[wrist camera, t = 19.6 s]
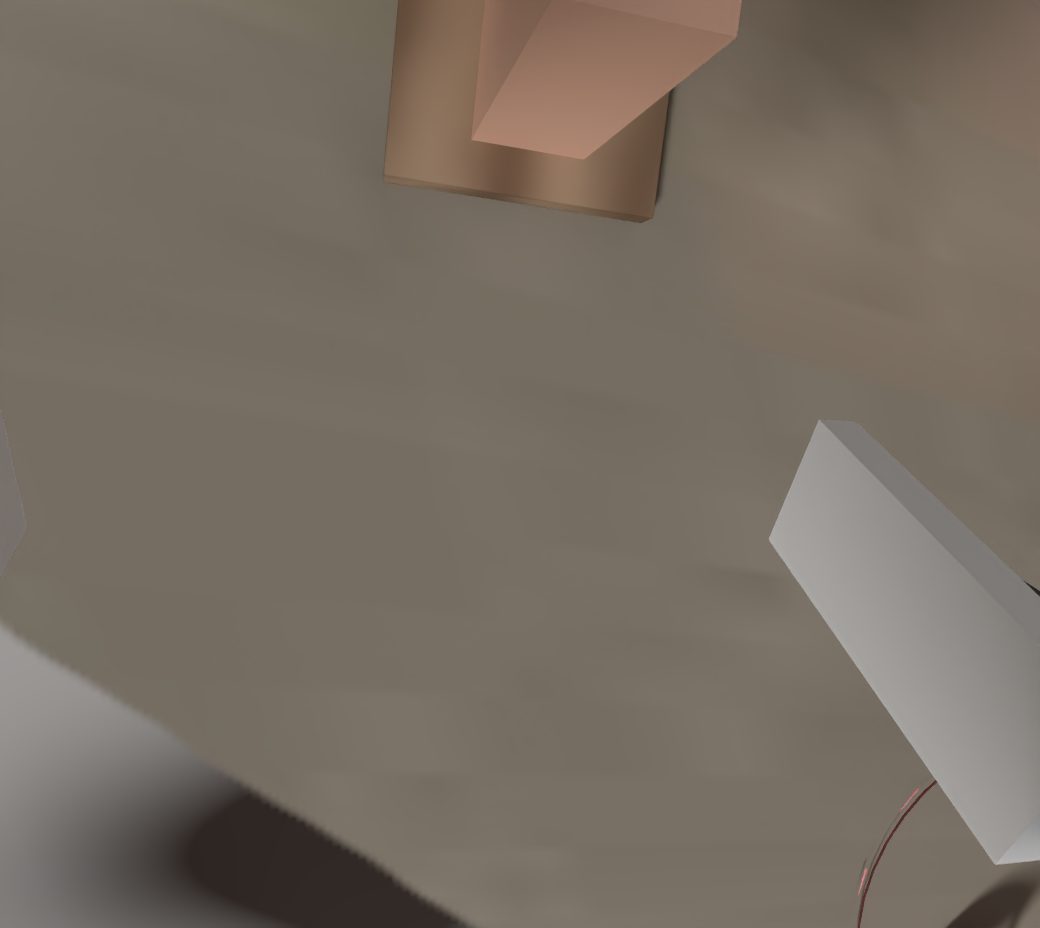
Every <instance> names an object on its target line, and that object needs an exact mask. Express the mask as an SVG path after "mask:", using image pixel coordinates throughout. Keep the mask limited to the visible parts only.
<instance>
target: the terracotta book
mask: <svg viewBox="0 0 1040 928" xmlns="http://www.w3.org/2000/svg"><path fill="white" fill-rule="evenodd" d="M741 4H742V0H485V7H484V17H483V27H482V37H481V47H480V57H479V67H478V77H477V87H476V98H475V108H474V118H473V128H472V138H471V140H475V141H481V142H487V143H492V144H498V145H504V146H509V147H515V148H521V149H526V150H532V151H538V152H543V153H549V154H555V155H561V156H566V157H572V158H578V159H583V160H584V159H585V158H587V157H588V156H589V155H590V154H592V153H593V152H594V151H595V150H597V149H598V148H599V147H600V146H602V145H603V144H604V143H605V142H607V141H608V140H609V139H610V138H612V137H613V136H614V135H615V134H617V133H618V132H619V131H620V130H622V129H623V128H624V127H625V126H627V125H628V124H629V123H630V122H632V121H633V120H634V119H635V118H637V117H638V116H639V115H640V114H642V113H643V112H644V111H645V110H646V109H648V108H649V107H650V106H651V105H653V104H654V103H655V102H656V101H658V100H659V99H660V98H661V97H663V96H664V95H665V94H666V93H668V92H669V91H670V90H671V89H673V88H674V87H675V86H676V85H678V84H679V83H680V82H681V81H683V80H684V79H685V78H686V77H688V76H689V75H690V74H691V73H693V72H694V71H695V70H696V69H698V68H699V67H700V66H701V65H703V64H704V63H705V62H706V61H708V60H709V59H710V58H711V57H713V56H714V55H715V54H716V53H718V52H719V51H720V50H721V49H723V48H724V47H725V46H726V45H728V44H729V43H730V42H731V41H733V40H734V39H735V38H736V37H737V33H738V26H739V19H740V12H741Z"/></svg>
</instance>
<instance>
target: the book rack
mask: <svg viewBox="0 0 1040 928" xmlns="http://www.w3.org/2000/svg"><path fill="white" fill-rule="evenodd" d="M484 7H485V0H398V10H397V21H396V33H395V45H394V56H393V68H392V80H391V91H390V103H389V115H388V126H387V138H386V150H385V161H384V173H383V182H388V183H395V184H401V185H407V186H413V187H420V188H426V189H432V190H439V191H445V192H451V193H457V194H464V195H470V196H476V197H482V198H489V199H495V200H501V201H507V202H514V203H520V204H526V205H532V206H539V207H545V208H551V209H557V210H564V211H570V212H576V213H583V214H589V215H595V216H601V217H608V218H614V219H620V220H626V221H633V222H639V223H642V222H644V221H647V220H649V219H652V218H653V215H654V207H655V200H656V192H657V184H658V177H659V169H660V161H661V154H662V146H663V138H664V130H665V123H666V115H667V107H668V100H669V92H670V91H669V92H668V93H666V94H665V95H664V96H663V97H661V98H660V99H659V100H658V101H656V102H655V103H654V104H653V105H651V106H650V107H649V108H648V109H646V110H645V111H644V112H643V113H642V114H640V115H639V116H638V117H637V118H635V119H634V120H633V121H632V122H630V123H629V124H628V125H627V126H625V127H624V128H623V129H622V130H620V131H619V132H618V133H617V134H615V135H614V136H613V137H612V138H610V139H609V140H608V141H607V142H605V143H604V144H603V145H602V146H600V147H599V148H598V149H597V150H595V151H594V152H593V153H592V154H590V155H589V156H588V157H587V158H585V159H584V160H583V159H578V158H572V157H566V156H561V155H555V154H549V153H543V152H538V151H532V150H526V149H521V148H515V147H509V146H504V145H498V144H492V143H487V142H481V141H475V140H471V138H472V128H473V118H474V108H475V98H476V87H477V77H478V67H479V57H480V47H481V37H482V27H483V17H484Z"/></svg>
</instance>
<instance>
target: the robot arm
mask: <svg viewBox="0 0 1040 928" xmlns="http://www.w3.org/2000/svg"><path fill="white" fill-rule="evenodd" d="M27 529H28V528H27V524H26V520H25V515H24V511H23V506H22V502H21V497H20V493H19V488H18V484H17V479H16V475H15V470H14V466H13V461H12V457H11V453H10V448H9V444H8V439H7V435H6V430H5V426H4V421H3V417H2V412H1V408H0V578H1V576H2V574H3V572H4V570H5V569H6V567H7V565H8V563H9V561H10V560H11V558H12V556H13V554H14V552H15V550H16V549H17V547H18V545H19V543H20V541H21V540H22V538H23V536H24V534H25V532H26V530H27ZM769 541H770V542H771V544H772V545H773V547H774V548H775V549H776V551H777V552H778V554H779V555H780V557H781V558H782V559H783V561H784V562H785V564H786V565H787V567H788V568H789V569H790V571H791V572H792V574H793V575H794V577H795V578H796V580H797V581H798V582H799V584H800V585H801V587H802V588H803V590H804V591H805V592H806V594H807V595H808V597H809V598H810V600H811V601H812V603H813V604H814V605H815V607H816V608H817V610H818V611H819V613H820V614H821V615H822V617H823V618H824V620H825V621H826V623H827V624H828V626H829V627H830V628H831V630H832V631H833V633H834V634H835V636H836V637H837V638H838V640H839V641H840V643H841V644H842V646H843V647H844V649H845V650H846V651H847V653H848V654H849V656H850V657H851V659H852V660H853V661H854V663H855V664H856V666H857V667H858V669H859V670H860V671H861V673H862V674H863V676H864V677H865V679H866V680H867V682H868V683H869V684H870V686H871V687H872V689H873V690H874V692H875V693H876V694H877V696H878V697H879V699H880V700H881V702H882V703H883V705H884V706H885V707H886V709H887V710H888V712H889V713H890V715H891V716H892V717H893V719H894V720H895V722H896V723H897V725H898V726H899V728H900V729H901V730H902V732H903V733H904V735H905V736H906V738H907V739H908V740H909V742H910V743H911V745H912V746H913V748H914V749H915V751H916V752H917V753H918V755H919V756H920V758H921V759H922V761H923V762H924V763H925V765H926V766H927V768H928V769H929V771H930V772H931V773H932V775H933V776H934V778H935V779H936V781H937V782H938V784H939V785H940V786H941V788H942V789H943V791H944V792H945V794H946V795H947V796H948V798H949V799H950V801H951V802H952V804H953V805H954V807H955V808H956V809H957V811H958V812H959V814H960V815H961V817H962V818H963V819H964V821H965V822H966V824H967V825H968V827H969V828H970V830H971V831H972V832H973V834H974V835H975V837H976V838H977V840H978V841H979V842H980V844H981V845H982V847H983V848H984V850H985V851H986V853H987V854H988V855H989V857H990V858H991V860H992V861H993V863H994V864H995V865H998V864H1007V863H1017V862H1026V861H1036V860H1040V591H1039V590H1037V589H1036V588H1034V587H1033V586H1031V585H1029V584H1028V583H1026V582H1025V581H1023V580H1022V579H1021V578H1020V577H1019V576H1017V575H1016V574H1015V573H1014V572H1013V571H1012V570H1011V569H1010V568H1009V567H1008V566H1007V565H1006V564H1005V563H1004V562H1003V561H1002V560H1001V559H1000V558H999V557H998V556H997V555H995V554H994V553H993V552H992V551H991V550H990V549H989V548H988V547H987V546H986V545H985V544H984V543H983V542H982V541H981V540H980V539H979V538H978V537H977V536H976V535H975V534H973V533H972V532H971V531H970V530H969V529H968V528H967V527H966V526H965V525H964V524H963V523H962V522H961V521H960V520H959V519H958V518H957V517H956V516H955V515H954V514H952V513H951V512H950V511H949V510H948V509H947V508H946V507H945V506H944V505H943V504H942V503H941V502H940V501H939V500H938V499H937V498H936V497H935V496H934V495H933V494H932V493H930V492H929V491H928V490H927V489H926V488H925V487H924V486H923V485H922V484H921V483H920V482H919V481H918V480H917V479H916V478H915V477H914V476H913V475H912V474H911V473H910V472H908V471H907V470H906V469H905V468H904V467H903V466H902V465H901V464H900V463H899V462H898V461H897V460H896V459H895V458H894V457H893V456H892V455H891V454H890V453H889V452H887V451H886V450H885V449H884V448H883V447H882V446H881V445H880V444H879V443H878V442H877V441H876V440H875V439H874V438H873V437H872V436H871V435H870V434H869V433H868V432H867V431H865V430H864V429H863V428H862V427H861V426H860V425H859V424H858V423H857V422H855V421H837V420H819V421H818V423H817V426H816V428H815V430H814V433H813V435H812V438H811V440H810V442H809V445H808V447H807V449H806V452H805V454H804V457H803V459H802V461H801V464H800V466H799V468H798V471H797V473H796V476H795V478H794V480H793V483H792V485H791V487H790V490H789V492H788V495H787V497H786V499H785V502H784V504H783V506H782V509H781V511H780V514H779V516H778V518H777V521H776V523H775V526H774V528H773V530H772V533H771V535H770V537H769Z"/></svg>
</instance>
